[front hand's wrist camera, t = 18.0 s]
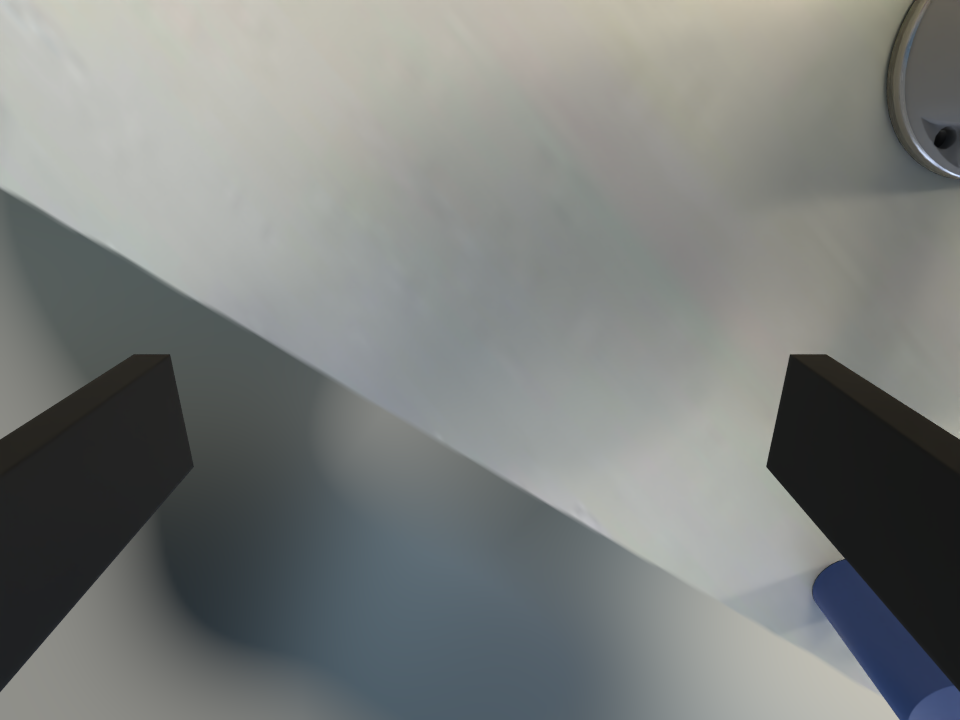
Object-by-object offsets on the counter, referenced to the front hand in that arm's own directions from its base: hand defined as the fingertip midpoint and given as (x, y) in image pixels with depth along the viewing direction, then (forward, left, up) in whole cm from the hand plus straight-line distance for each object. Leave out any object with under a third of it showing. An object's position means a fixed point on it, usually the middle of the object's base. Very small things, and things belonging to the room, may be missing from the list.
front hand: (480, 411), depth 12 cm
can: (-33, +35, -31) cm, 57 cm away
